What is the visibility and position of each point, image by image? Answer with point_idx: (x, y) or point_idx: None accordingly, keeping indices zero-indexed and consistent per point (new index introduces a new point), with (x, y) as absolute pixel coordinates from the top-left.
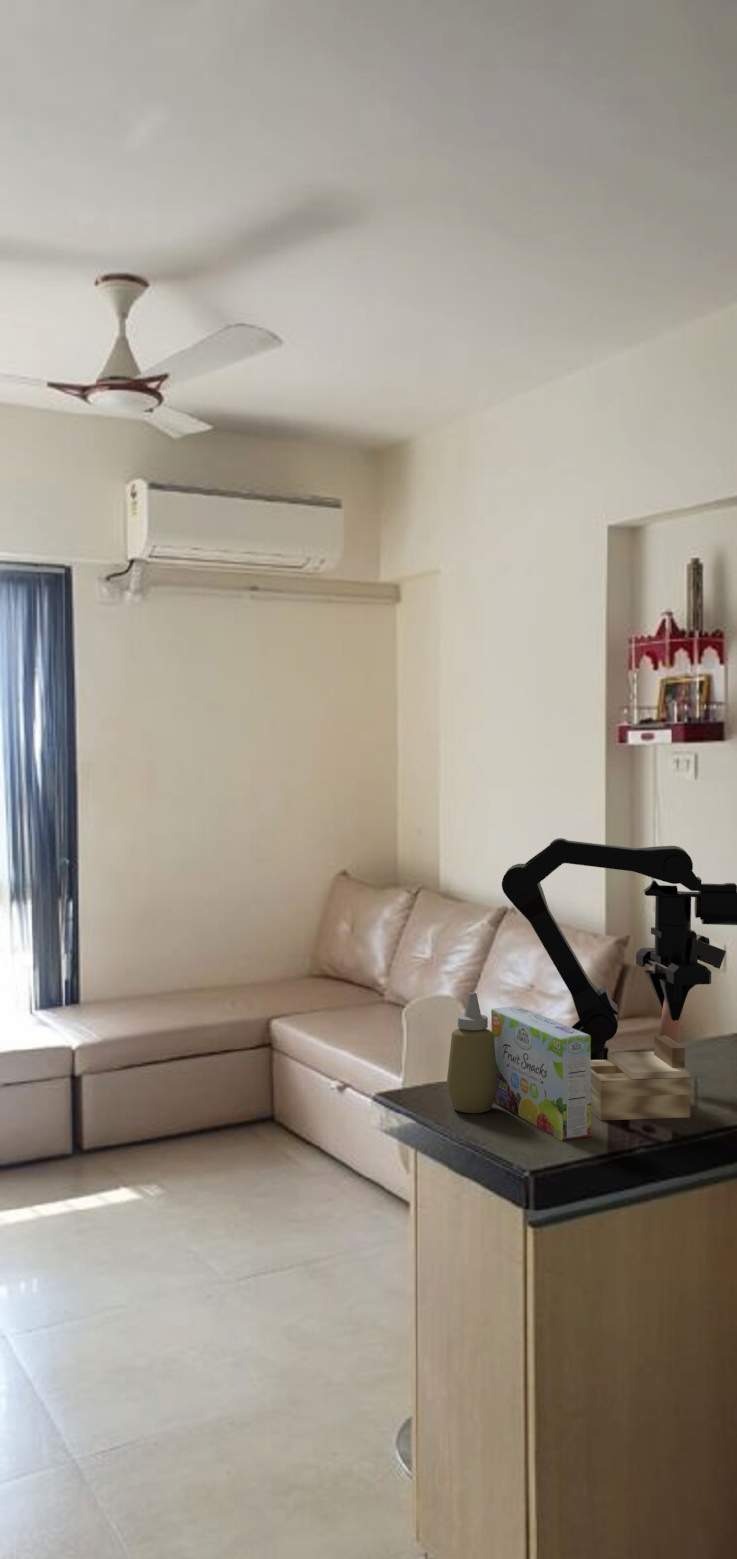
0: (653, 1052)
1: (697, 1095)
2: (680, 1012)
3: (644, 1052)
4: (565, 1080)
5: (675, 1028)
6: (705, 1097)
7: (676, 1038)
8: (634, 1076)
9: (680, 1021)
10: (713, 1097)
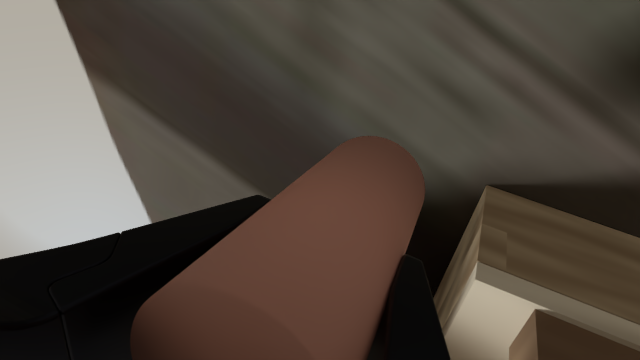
0: (475, 323)
1: (562, 74)
2: (431, 306)
3: (456, 346)
4: None
5: (412, 230)
6: (607, 62)
7: (423, 189)
8: None
9: (398, 212)
10: (630, 28)
